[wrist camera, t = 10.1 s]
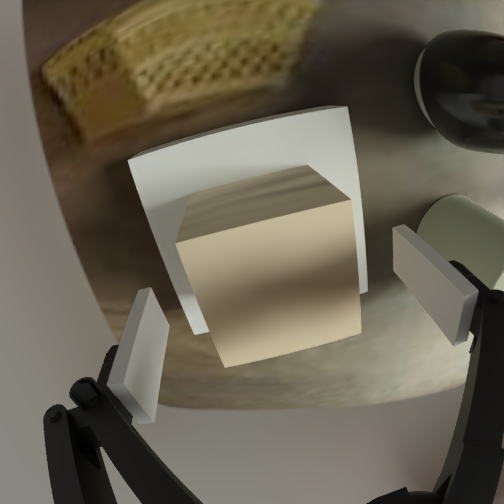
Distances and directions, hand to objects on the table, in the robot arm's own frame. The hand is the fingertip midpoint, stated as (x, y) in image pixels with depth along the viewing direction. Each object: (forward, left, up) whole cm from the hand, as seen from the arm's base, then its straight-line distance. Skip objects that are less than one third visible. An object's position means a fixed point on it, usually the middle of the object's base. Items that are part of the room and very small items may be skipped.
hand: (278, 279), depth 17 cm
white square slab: (0, 0, -11) cm, 11 cm away
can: (+7, +19, -11) cm, 23 cm away
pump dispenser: (-8, +19, -11) cm, 23 cm away
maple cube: (0, 0, -7) cm, 7 cm away
